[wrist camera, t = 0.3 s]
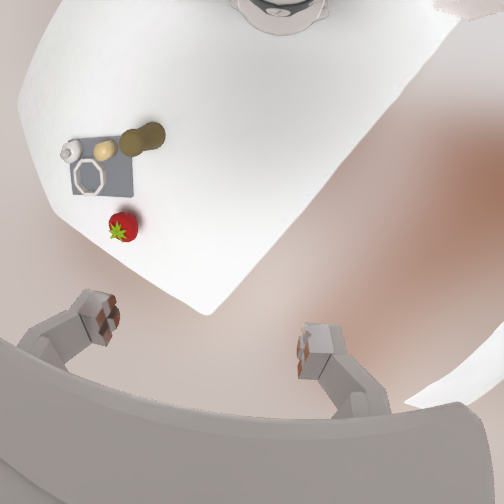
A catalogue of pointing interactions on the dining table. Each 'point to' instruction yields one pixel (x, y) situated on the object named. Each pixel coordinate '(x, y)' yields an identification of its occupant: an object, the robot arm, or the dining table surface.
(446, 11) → the milk
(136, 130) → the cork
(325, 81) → the dining table surface
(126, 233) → the strawberry
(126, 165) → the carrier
